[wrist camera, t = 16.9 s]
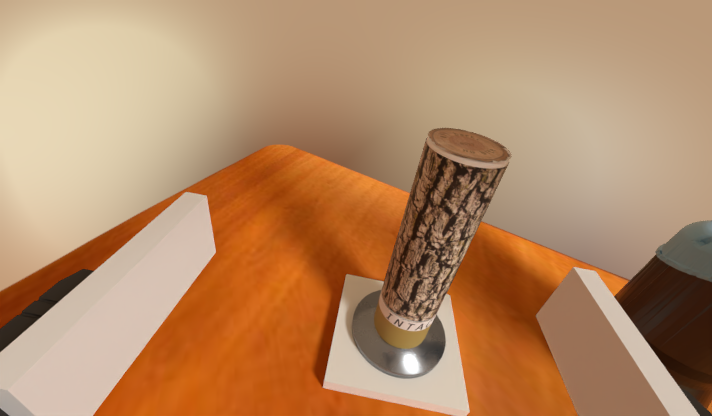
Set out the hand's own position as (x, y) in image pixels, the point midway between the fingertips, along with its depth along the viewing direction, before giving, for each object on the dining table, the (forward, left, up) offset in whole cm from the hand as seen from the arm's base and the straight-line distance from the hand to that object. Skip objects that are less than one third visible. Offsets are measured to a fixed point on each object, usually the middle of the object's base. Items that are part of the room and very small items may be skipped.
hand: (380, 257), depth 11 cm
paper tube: (-7, -16, -26) cm, 31 cm away
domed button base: (-7, -16, -28) cm, 33 cm away
